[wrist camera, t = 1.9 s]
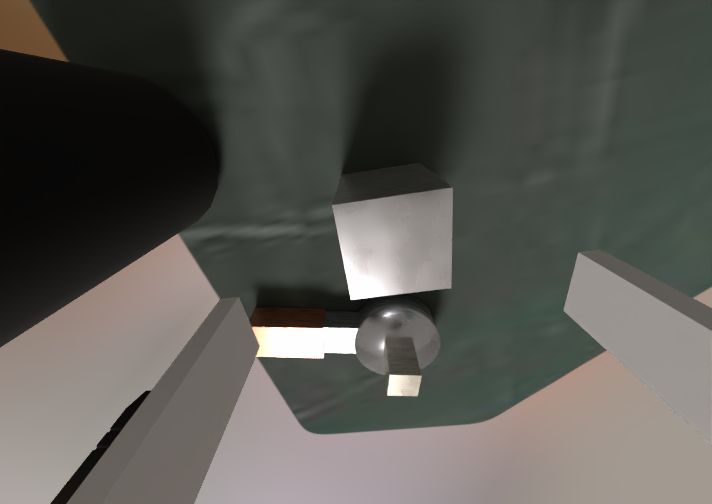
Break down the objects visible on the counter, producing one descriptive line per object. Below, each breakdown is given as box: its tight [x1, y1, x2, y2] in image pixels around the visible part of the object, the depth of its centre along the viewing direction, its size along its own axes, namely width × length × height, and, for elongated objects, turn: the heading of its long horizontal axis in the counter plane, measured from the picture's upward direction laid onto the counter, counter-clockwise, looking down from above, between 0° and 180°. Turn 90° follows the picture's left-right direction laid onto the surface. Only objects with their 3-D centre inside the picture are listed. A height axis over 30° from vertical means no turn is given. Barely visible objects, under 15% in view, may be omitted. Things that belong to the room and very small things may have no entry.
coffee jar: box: [0, 49, 218, 347], centre depth 12 cm, size 11×11×18 cm
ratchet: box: [249, 294, 440, 396], centre depth 24 cm, size 18×8×7 cm, turn 89°
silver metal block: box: [332, 163, 453, 300], centre depth 18 cm, size 6×6×8 cm
